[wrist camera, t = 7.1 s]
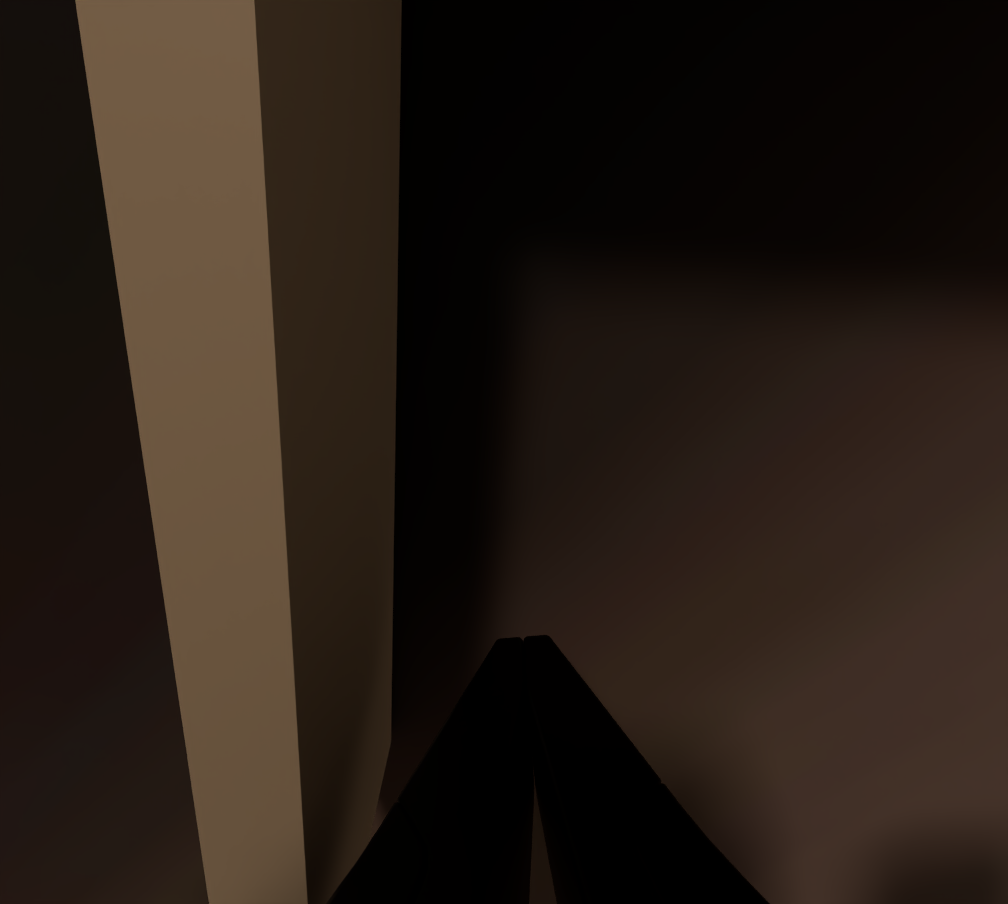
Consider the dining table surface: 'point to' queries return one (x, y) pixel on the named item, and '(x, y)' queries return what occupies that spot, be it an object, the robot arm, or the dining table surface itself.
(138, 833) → the dining table surface
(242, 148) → the flap
